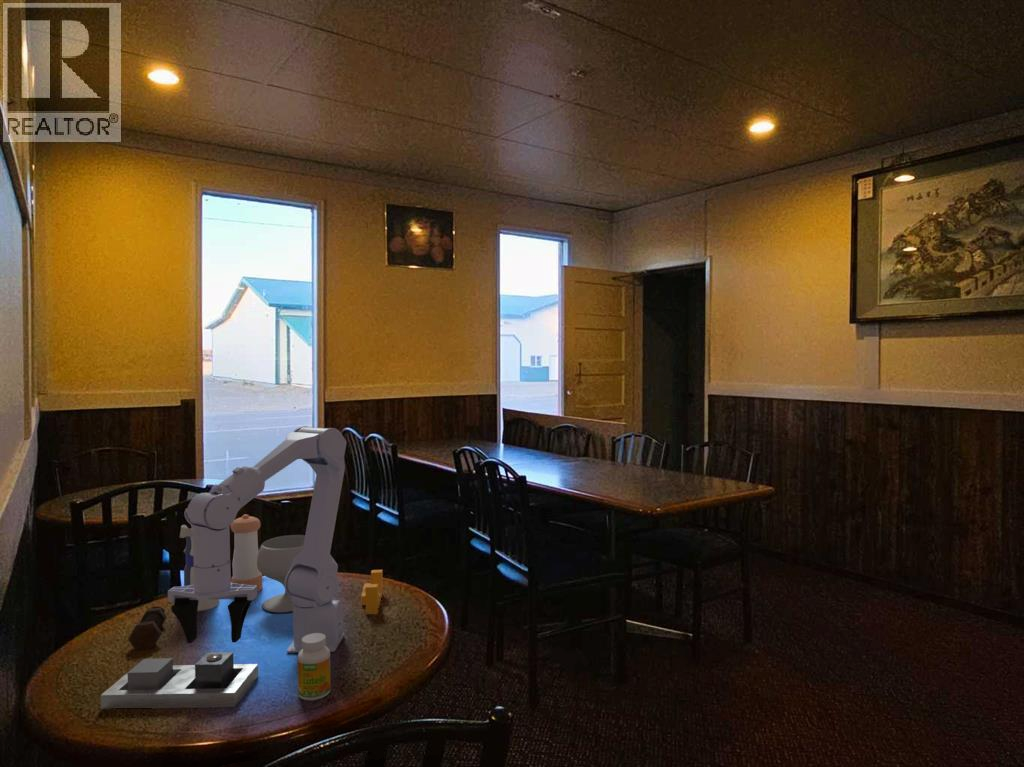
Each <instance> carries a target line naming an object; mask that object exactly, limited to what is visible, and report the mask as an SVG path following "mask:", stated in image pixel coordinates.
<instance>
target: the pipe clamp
mask: <svg viewBox="0 0 1024 767" xmlns="http://www.w3.org/2000/svg"><path fill="white" fill-rule="evenodd" d="M383 575H384V574H383V569H372V570H371V571H370V582H368V583H367V582H365V583H364V584H363V587H362V592H361V595H360V601H361V603H360V605H361V604H366V606H365V614H366V613H375V612H376V613H377V612H378V613H379V610H378V608H379V609H380V607H379V604H380V605H381V603H380V601H381V602H382V600H381V597H382V598H383V596H382V593H383V594H384V588H383V587H384V584H383V581H384V580H383V579H384V578H383Z"/></svg>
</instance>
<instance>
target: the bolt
mask: <svg viewBox="0 0 1024 767" xmlns="http://www.w3.org/2000/svg"><path fill="white" fill-rule="evenodd" d="M167 617H168V616H167V614H166V613H165V609H164V608H162V607H161V606H152V607H151V608H147V609H146V611H145V613H144V614H143V615H142V617H141V619H140V621H139V622H138V623H136V624H135V626H134V628H133V629H132V631H131V633H130V634H129V637H128V641H129V643H130V645H132V647H133V648H134V650H140V651H141V650H147V649H151V648H154V647H155V646H156V645H157V642H158V640H159V638H160V637H161V635H162V634H163V633H162V630H161V628H162V626H163V624H164V623H165V622H166V619H167Z"/></svg>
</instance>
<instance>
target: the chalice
mask: <svg viewBox="0 0 1024 767" xmlns="http://www.w3.org/2000/svg"><path fill="white" fill-rule="evenodd" d="M304 539H305V535H304V534H289V535H281V536H276V537H272V538H270V539H269V538H268V539H266V540H265V541H263V542H262V543H261V545H260V546H259V548H258V550H259V552H258V557H257V568H258V570H259V571H260V572H261V574H262V576H264V577H265V578H269V579H271V580H274V581H277V582H278V583H280V584H282V586H283V587H284V588H285V586H284V582H285V577H286V575H287V573H288V571H289V570H290V568H291V564H292V560H293V558H294V557H296V556H297V555H298V554H299V553H301V552H302V550H303V544H304ZM312 568H314V567H312ZM261 608H262V609H263V610H265V611H266V612H270V613H289V612H293V601H291V595H289V594H288V593H287V592H286V590H285V589H284V593H282V594H281V593H280V594H277V595H275V596H272V597H270V598H268V599H266V600H265V601H264V602H263V603H262V604H261Z"/></svg>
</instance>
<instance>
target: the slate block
mask: <svg viewBox="0 0 1024 767" xmlns="http://www.w3.org/2000/svg"><path fill="white" fill-rule="evenodd" d="M173 660H174V658H173V657H171V658H169V657H168V658H164V657H163V658H143V659H142V660H141V661H140V662H139V663H137V664H136V665H134V667H132V669H130V670H129V671H128V672H127V673H128V690H159V689H161V688H162V687H164V686H165V685H166V684H167V683H168V682H169V681H170V680H171V679H172V678H173V665H174V661H173Z"/></svg>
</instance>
